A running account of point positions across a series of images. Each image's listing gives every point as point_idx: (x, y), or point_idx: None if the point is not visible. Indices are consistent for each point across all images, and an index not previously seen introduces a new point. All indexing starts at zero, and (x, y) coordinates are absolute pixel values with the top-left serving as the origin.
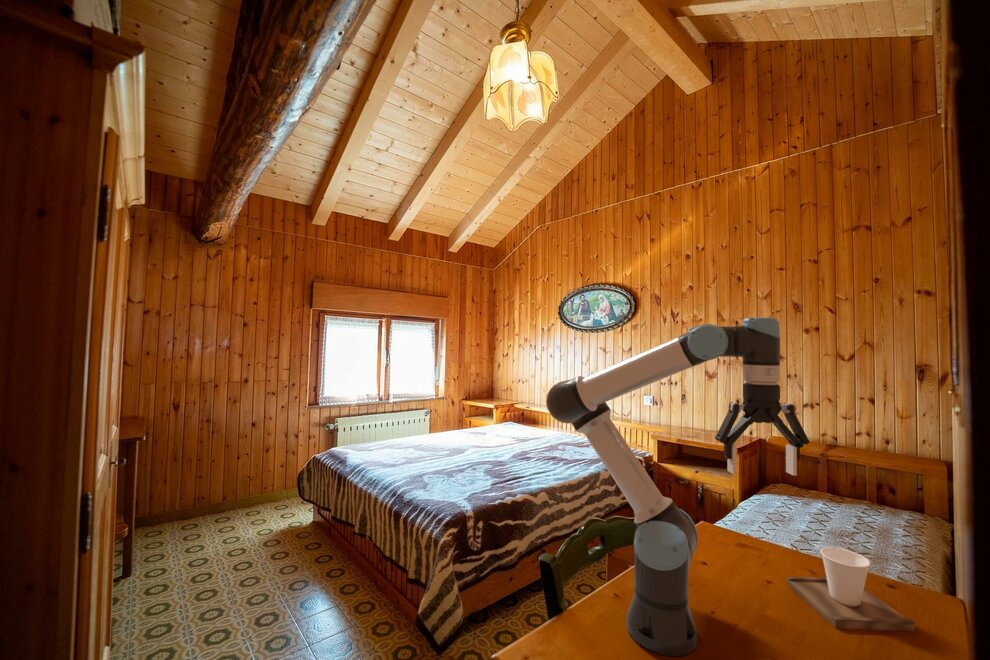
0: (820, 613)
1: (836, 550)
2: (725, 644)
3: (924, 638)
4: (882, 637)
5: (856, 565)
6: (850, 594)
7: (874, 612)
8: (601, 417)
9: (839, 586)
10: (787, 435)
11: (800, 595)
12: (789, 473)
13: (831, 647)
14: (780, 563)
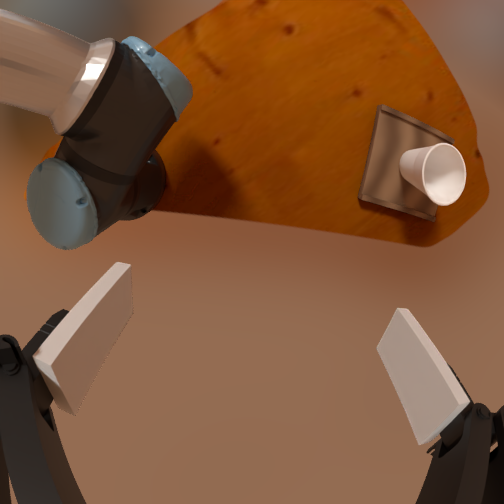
0: (364, 171)
1: (454, 150)
2: (194, 203)
3: (425, 229)
4: (391, 220)
5: (453, 172)
6: (411, 183)
7: (418, 194)
8: None
9: (408, 176)
10: (417, 501)
11: (373, 133)
12: (387, 328)
13: (320, 224)
14: (406, 65)
